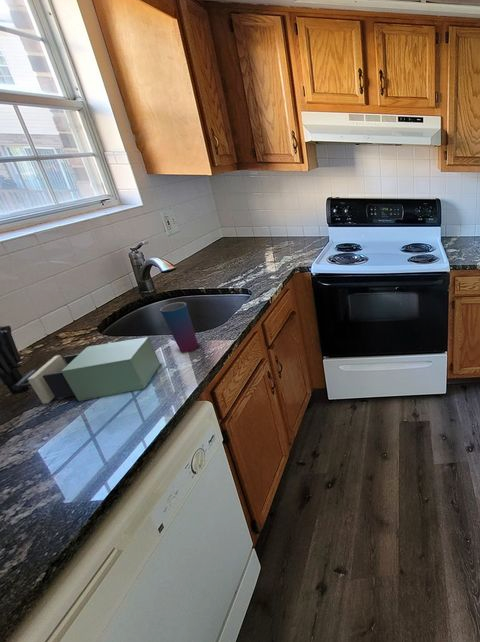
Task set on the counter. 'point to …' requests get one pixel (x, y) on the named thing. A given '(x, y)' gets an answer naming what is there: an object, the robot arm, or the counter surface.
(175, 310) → the cup
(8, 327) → the robot arm
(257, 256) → the counter surface
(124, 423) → the counter surface
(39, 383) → the black and cream piece
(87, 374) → the green box
